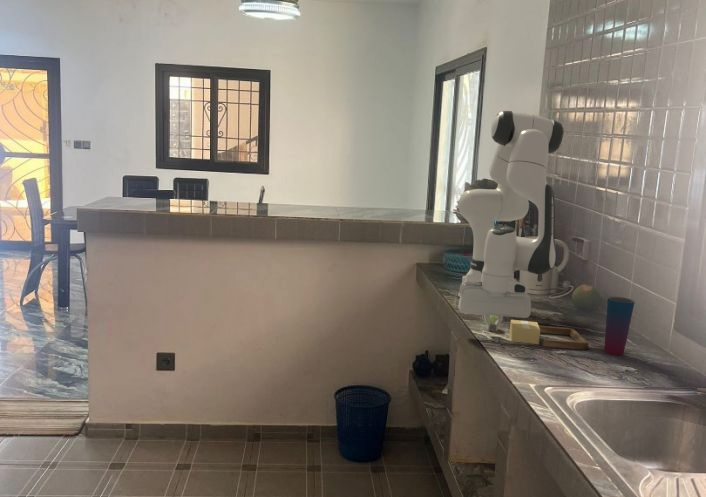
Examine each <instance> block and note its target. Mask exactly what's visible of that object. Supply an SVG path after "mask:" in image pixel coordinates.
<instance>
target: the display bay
mask: <svg viewBox="0 0 706 497" xmlns="http://www.w3.org/2000/svg"><path fill="white" fill-rule="evenodd" d="M539 328H540V334H552V335H567V336H570V337H571V339H573V340H566V339H565V340H563V339H552V338H543V339H542V346H543V347H548V348H560V349H563V348H564V349H576V350H577V349H578V350H589V344H590V342H588V341H587V340H586V339H585V338H584V337H583V336H582V335H581V334H580V333H579V332H578V331H576V329H575V328H574V327H564V326H562V327H560V326H549V325H548V326H545V325H539Z"/></svg>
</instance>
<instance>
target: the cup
mask: <svg viewBox="0 0 706 497" xmlns="http://www.w3.org/2000/svg"><path fill="white" fill-rule="evenodd" d="M606 302H607V306H606V317H605V318H606V319H605V320H606V321H605V331H604V332H605V333H604V334H605V335H604V336H605V337H604V346H603V347H604V348H603V349H604V352H605V353H606V354H609V355H614V356H623V355H624V354H625V350H626V345H627V340H628V336H629V335H628V334H629V330H630V325H631V321H632V316H633V312H634V306H635V303H636V301H635V299H631V298H627V297H623V296H608V297H607V301H606Z"/></svg>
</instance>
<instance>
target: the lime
mask: <svg viewBox="0 0 706 497" xmlns="http://www.w3.org/2000/svg"><path fill="white" fill-rule="evenodd" d="M497 319H498V318H497V316H493V315H490V319H488V320H489V323H495V322H496V321H497ZM500 324H501V323H500ZM500 324H499V325H498V327H499V326H500ZM484 325H485V326H486V327H487V322H486V320H485V319H484Z"/></svg>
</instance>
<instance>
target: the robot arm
mask: <svg viewBox="0 0 706 497" xmlns="http://www.w3.org/2000/svg"><path fill="white" fill-rule="evenodd" d="M490 128H491V129H490V133H491V139H492V140H493V142H495V143H496V144H497V146H496V149H495V152H494V155H493V157H492V160H491V164H490V166H489V176H490V178H491V179H492V181H494V182H495V183H496V184H497V187H496V188H494V189H491V188H490V189H489V188H488V189H486V188H475V189H470V190H465V191H463V193H462V194H461V195H460V197H459V199H458V205H457V206H458V211H459V213H460V215H461V216H462V217H463V219H465V221H467V222H468V225H469V226H470V228H471V231H472V235H473V249H472V250H473V251H472V257H471V260H470V265H469V266H470V268H469V271H468V272H467V273H466V275H463V276H461V277H462V279H461V284H460V285H459V292H458V298H459V301H458V310H459V312H460V313H462V314H467V315H479V316H481V315H482V316H483V317H484V321H485V320H486V322H487V326H486V330H487V331H495V332H496V331H498V330H499V326H500V325H499V324H501V323H502V322H503V320H504V317H509V318H510V317H511V318H512V317H513V318H524V319H527V318H529V317H530V316H531V312H532V301H531V297H530V294H529V293H530V288H529V287H530V286H529V285H528V284H527V283H525V281H522V280H519V279H518V278H514V273H515V270H517V271H522V272H528V273H530V274H534V275H538V276H542V275H544V274H547V273H548V272H550V271H551V270H553V268H554V266H555V262H556V246H555V219H556V216H555V212H556V211H555V193H554V189H553V186H551V185H550V184H548V180H547V177H546V176H547V174H546V172H547V168H548V161H549V154H553V153H554V152H556V151H558V149H560V147H561V144H562V143H563V140H564V127H563V125H562V123H561V122H558V121H557V120H554V119H549V118H546V117H542V116H540V115H538V114H537V115H536V114H530V113H528V114H527V113H522V112H515V111H514V112H513V111H511V110H502V111H499V113H497V114H496V116H495V118H494V119H493V121H492V124H491V127H490ZM529 201H530V202H532V203H533V204H534V205H535V207H536V208H537V211H538V218H537V219H538V223H537V224H538V226H537V228H538V229H537V230H538V231H537V237H536V238H532V237H531V238H530V237H522V236H518V235H517V232H516V229H515V228H514V227H512V226H508V225H495V222H513V221H518V220H523V219H524V218H525V217H526V215H527V214H528V212H529V208H530V203H529ZM490 315H493V316H497V318H498V319H497V321H496V322H495V323H489V320H488V319H490ZM498 325H499V326H498Z"/></svg>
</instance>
